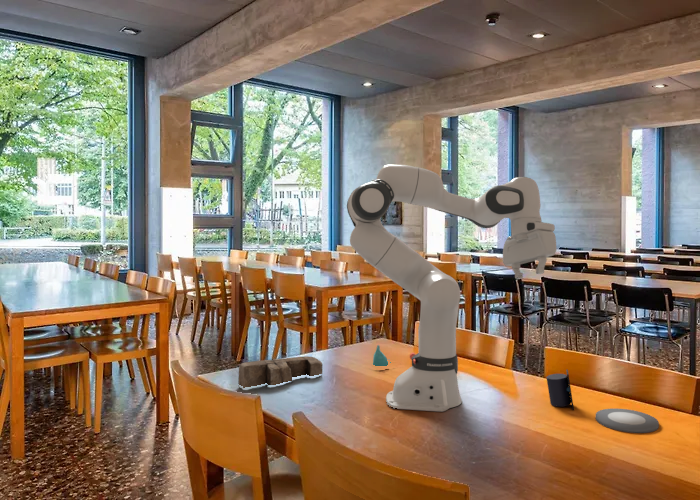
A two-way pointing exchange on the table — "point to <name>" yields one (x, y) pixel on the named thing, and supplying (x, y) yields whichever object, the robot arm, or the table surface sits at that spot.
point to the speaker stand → (627, 420)
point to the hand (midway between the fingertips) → (529, 276)
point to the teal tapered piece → (379, 358)
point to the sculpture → (277, 370)
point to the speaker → (559, 390)
